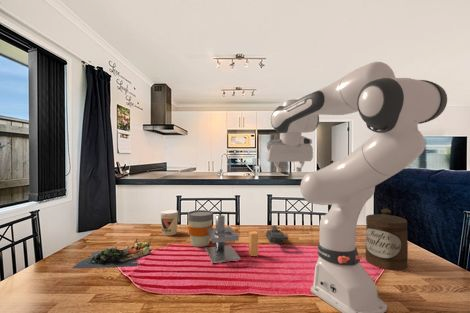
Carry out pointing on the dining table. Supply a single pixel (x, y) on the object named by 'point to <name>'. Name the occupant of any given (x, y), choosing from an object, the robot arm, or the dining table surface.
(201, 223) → the reusable coffee cup
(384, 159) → the robot arm
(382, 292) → the dining table surface
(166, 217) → the coffee cup
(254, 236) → the wedge pin
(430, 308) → the dining table surface
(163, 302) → the dining table surface
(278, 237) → the zipper pull
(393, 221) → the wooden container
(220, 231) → the grey finned stand
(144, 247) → the plated dish
